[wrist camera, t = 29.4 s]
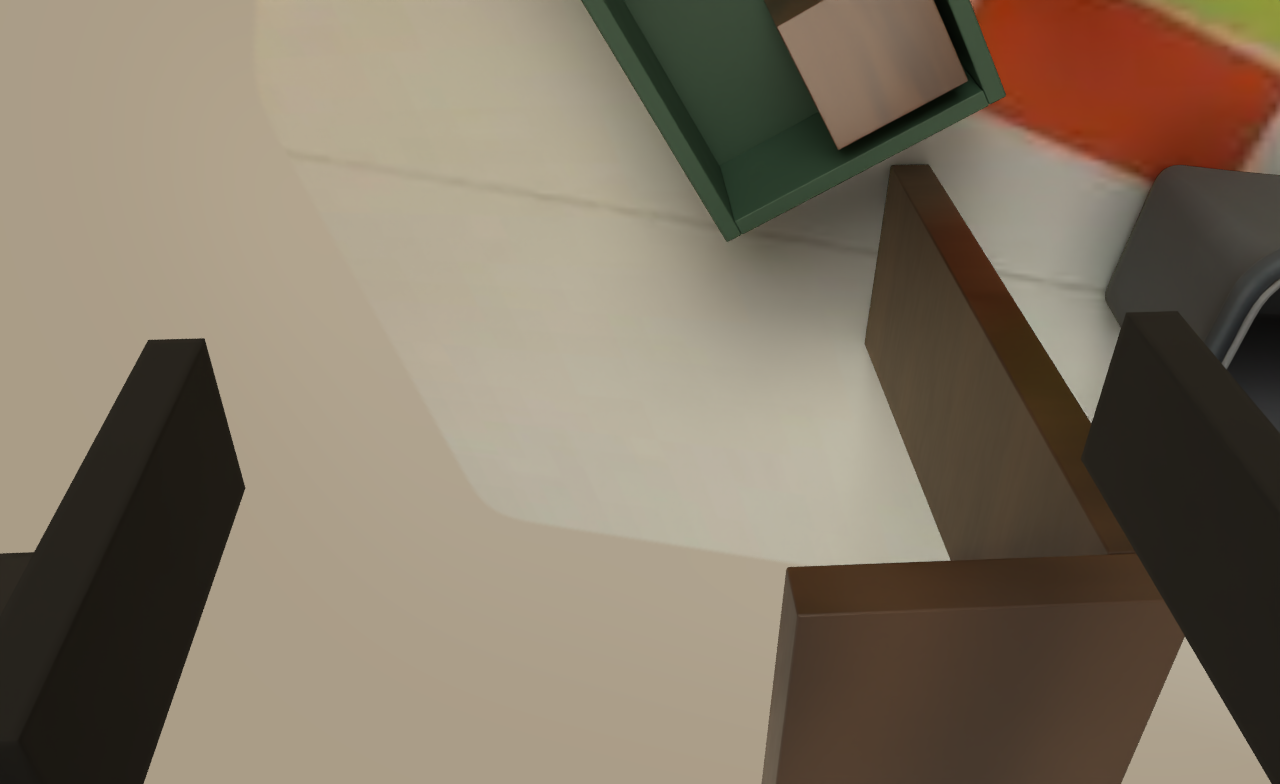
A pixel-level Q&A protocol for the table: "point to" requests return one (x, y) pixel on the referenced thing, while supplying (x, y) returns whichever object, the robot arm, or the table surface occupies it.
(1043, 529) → the wooden l-shaped bracket
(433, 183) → the table surface
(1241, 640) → the robot arm
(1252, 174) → the storage bin
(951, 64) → the mallet
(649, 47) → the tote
